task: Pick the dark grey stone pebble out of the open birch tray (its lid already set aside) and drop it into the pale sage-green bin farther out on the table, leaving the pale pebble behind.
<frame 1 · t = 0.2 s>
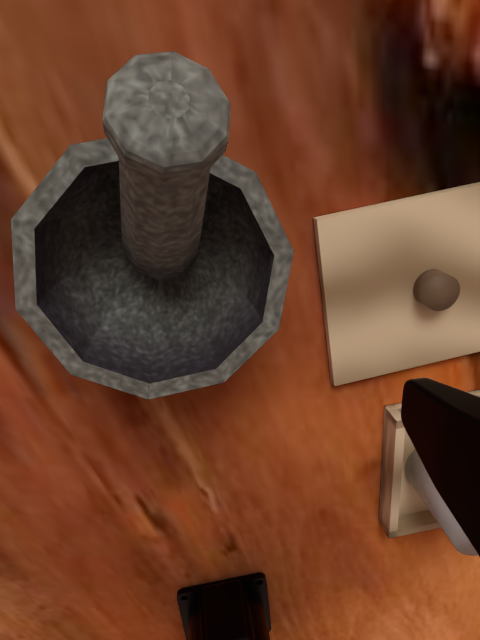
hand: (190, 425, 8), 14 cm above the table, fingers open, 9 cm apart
birch tray: (463, 451, 30), on the table
tray lid: (424, 283, 24), on the table
mortar and pestle: (163, 223, 21), on the table
grey pebble: (432, 463, 29), resting on birch tray
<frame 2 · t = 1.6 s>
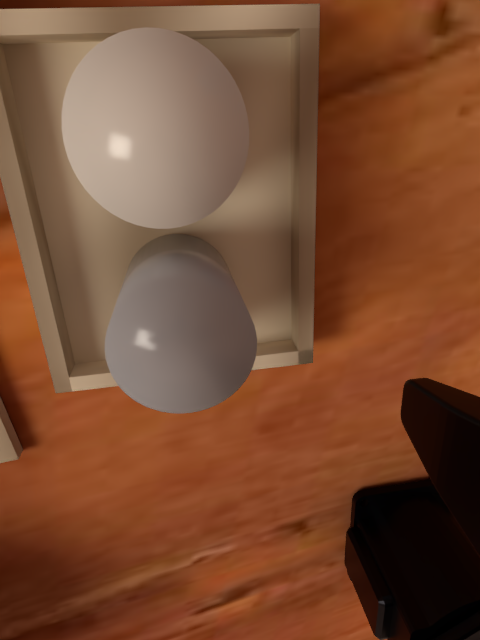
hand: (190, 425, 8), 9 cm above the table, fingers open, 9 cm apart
pale pebble: (162, 138, 14), resting on birch tray
birch tray: (171, 214, 16), on the table
grey pebble: (179, 285, 16), resting on birch tray
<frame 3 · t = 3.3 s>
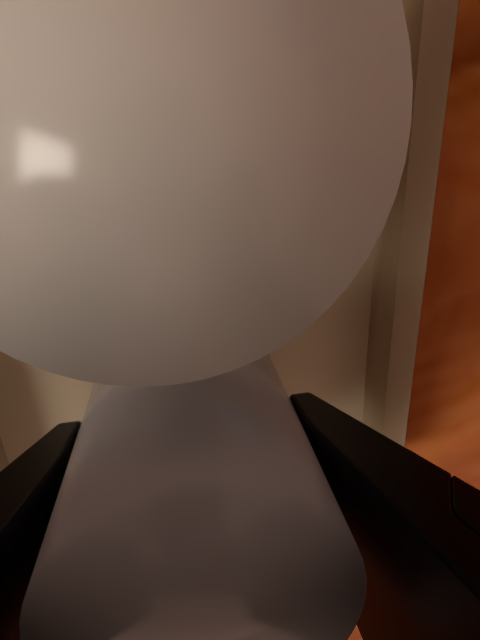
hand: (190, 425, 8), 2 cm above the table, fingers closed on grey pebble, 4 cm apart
pale pebble: (160, 141, 8), resting on birch tray
birch tray: (175, 268, 9), on the table
grey pebble: (187, 381, 10), resting on birch tray, touching gripper
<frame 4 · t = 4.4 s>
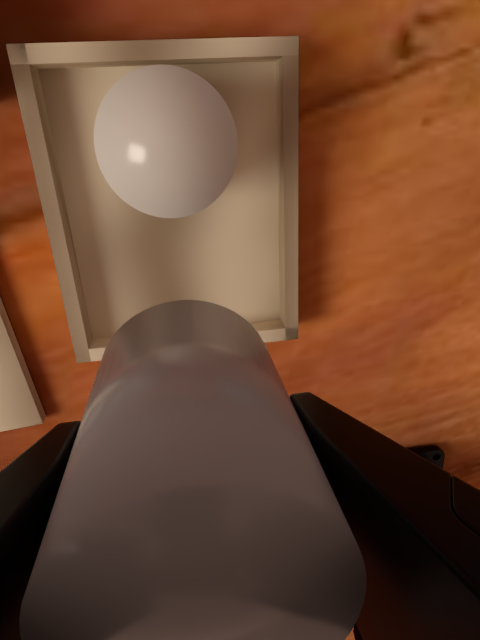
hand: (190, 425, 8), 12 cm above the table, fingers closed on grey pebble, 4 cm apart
pale pebble: (169, 145, 17), resting on birch tray
birch tray: (176, 210, 19), on the table
grey pebble: (187, 380, 10), point 10 cm above the table, touching gripper
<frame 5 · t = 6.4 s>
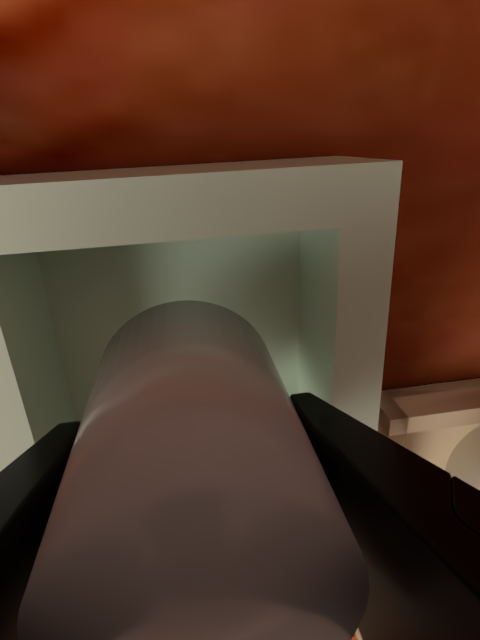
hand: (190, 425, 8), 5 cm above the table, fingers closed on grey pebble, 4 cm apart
sage bin: (182, 330, 13), on the table
birch tray: (475, 502, 17), on the table
grey pebble: (187, 381, 10), point 3 cm above the table, touching gripper
when the fingers open (4 cm above the table, at t = 7.1 s): grey pebble drops 2 cm, resting on sage bin.
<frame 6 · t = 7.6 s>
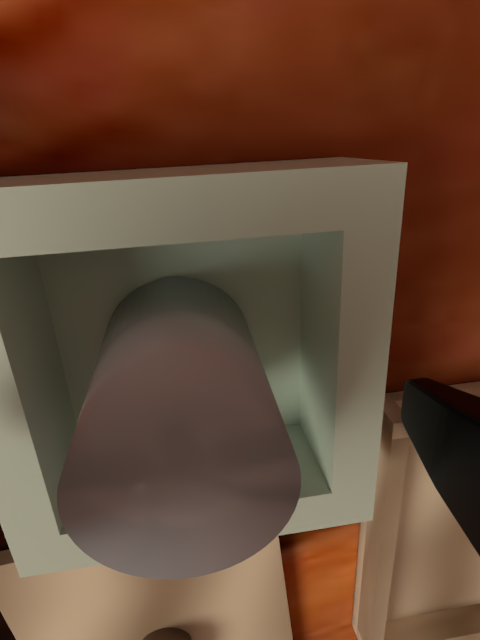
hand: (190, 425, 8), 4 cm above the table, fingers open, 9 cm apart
sage bin: (183, 333, 13), on the table
birch tray: (478, 506, 17), on the table
tray lid: (166, 628, 17), on the table
grey pebble: (179, 344, 12), point 1 cm above the table, touching sage bin
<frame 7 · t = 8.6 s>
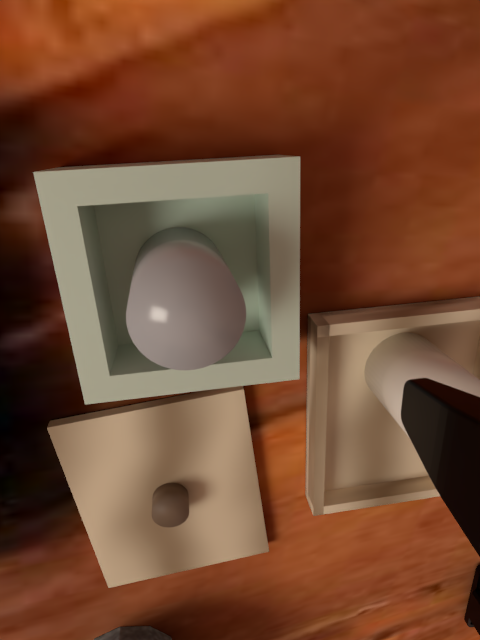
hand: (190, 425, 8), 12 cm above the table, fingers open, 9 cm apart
pale pebble: (399, 366, 23), resting on birch tray
sage bin: (182, 266, 20), on the table
birch tray: (391, 402, 24), on the table
tray lid: (170, 488, 25), on the table
grey pebble: (179, 271, 19), point 1 cm above the table, touching sage bin
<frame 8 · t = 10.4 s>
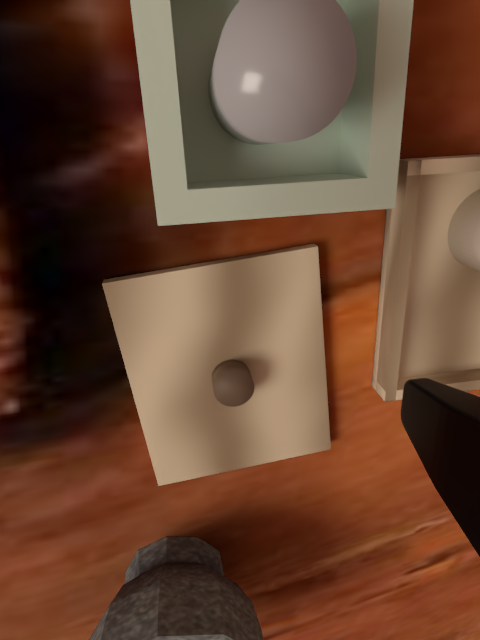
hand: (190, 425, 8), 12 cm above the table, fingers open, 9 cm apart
sage bin: (259, 90, 18), on the table
birch tray: (470, 276, 22), on the table
tray lid: (229, 371, 22), on the table
mortar and pestle: (164, 568, 28), on the table
grey pebble: (258, 90, 17), point 1 cm above the table, touching sage bin
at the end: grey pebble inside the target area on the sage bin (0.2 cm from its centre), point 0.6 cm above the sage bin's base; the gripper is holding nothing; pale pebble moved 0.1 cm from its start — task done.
